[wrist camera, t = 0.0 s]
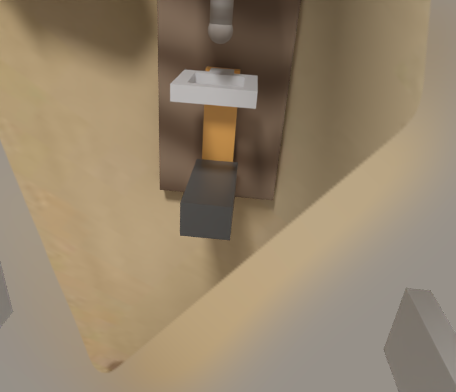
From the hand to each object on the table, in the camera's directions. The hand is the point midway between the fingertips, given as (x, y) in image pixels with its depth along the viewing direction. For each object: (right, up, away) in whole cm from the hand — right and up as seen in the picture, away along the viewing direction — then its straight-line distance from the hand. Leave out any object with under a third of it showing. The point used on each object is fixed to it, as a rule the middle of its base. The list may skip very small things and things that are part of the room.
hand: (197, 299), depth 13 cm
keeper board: (+1, +16, +23) cm, 28 cm away
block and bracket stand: (0, +9, +25) cm, 26 cm away
